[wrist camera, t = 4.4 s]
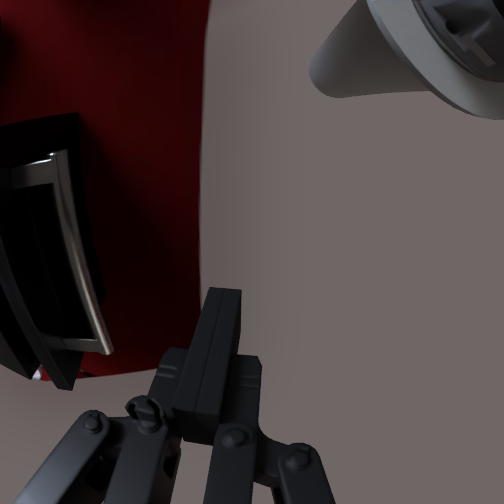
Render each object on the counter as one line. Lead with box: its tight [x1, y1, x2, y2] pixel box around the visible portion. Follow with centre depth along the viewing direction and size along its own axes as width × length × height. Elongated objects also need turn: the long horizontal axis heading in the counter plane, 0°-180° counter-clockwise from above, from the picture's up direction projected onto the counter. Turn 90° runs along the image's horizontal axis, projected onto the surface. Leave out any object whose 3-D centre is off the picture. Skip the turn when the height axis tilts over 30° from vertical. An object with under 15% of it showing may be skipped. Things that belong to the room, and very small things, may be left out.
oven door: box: [0, 112, 115, 391], centre depth 19 cm, size 6×20×14 cm, turn 177°
